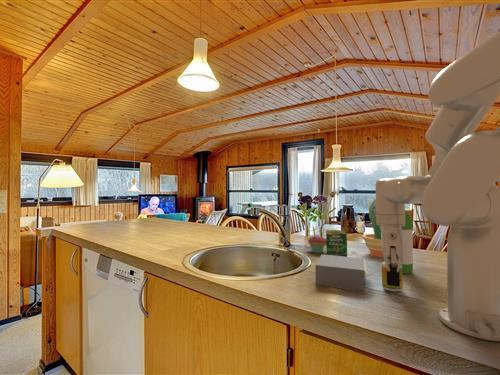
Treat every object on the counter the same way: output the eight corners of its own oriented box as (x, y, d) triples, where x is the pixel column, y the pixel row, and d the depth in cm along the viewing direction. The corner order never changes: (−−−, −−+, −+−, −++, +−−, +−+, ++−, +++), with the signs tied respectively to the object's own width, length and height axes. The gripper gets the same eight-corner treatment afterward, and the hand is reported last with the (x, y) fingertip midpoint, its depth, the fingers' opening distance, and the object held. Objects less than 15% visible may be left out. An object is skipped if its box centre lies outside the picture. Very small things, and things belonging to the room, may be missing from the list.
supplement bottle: (388, 284, 81) (387, 252, 81) (406, 289, 77) (405, 256, 77) (378, 287, 78) (377, 255, 78) (396, 293, 74) (395, 258, 74)
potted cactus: (354, 253, 121) (354, 198, 121) (374, 248, 129) (374, 197, 129) (388, 261, 108) (387, 200, 108) (407, 255, 117) (407, 198, 117)
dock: (365, 291, 77) (365, 270, 77) (315, 284, 83) (315, 264, 83) (365, 276, 90) (365, 258, 90) (321, 271, 96) (321, 254, 96)
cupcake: (307, 253, 122) (307, 227, 122) (308, 248, 130) (308, 224, 130) (326, 254, 119) (326, 227, 119) (327, 250, 127) (326, 225, 127)
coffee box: (325, 262, 107) (325, 229, 107) (326, 260, 109) (326, 228, 109) (346, 265, 103) (346, 231, 103) (347, 263, 106) (347, 230, 106)
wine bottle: (413, 276, 89) (412, 187, 89) (387, 272, 93) (386, 187, 93) (412, 270, 96) (412, 187, 96) (388, 267, 100) (388, 187, 100)
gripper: (410, 223, 69) (412, 294, 68) (401, 217, 84) (402, 275, 84) (377, 222, 72) (379, 290, 71) (375, 217, 87) (376, 272, 87)
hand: (392, 281), depth 77 cm, fingers closed on supplement bottle, 5 cm apart
